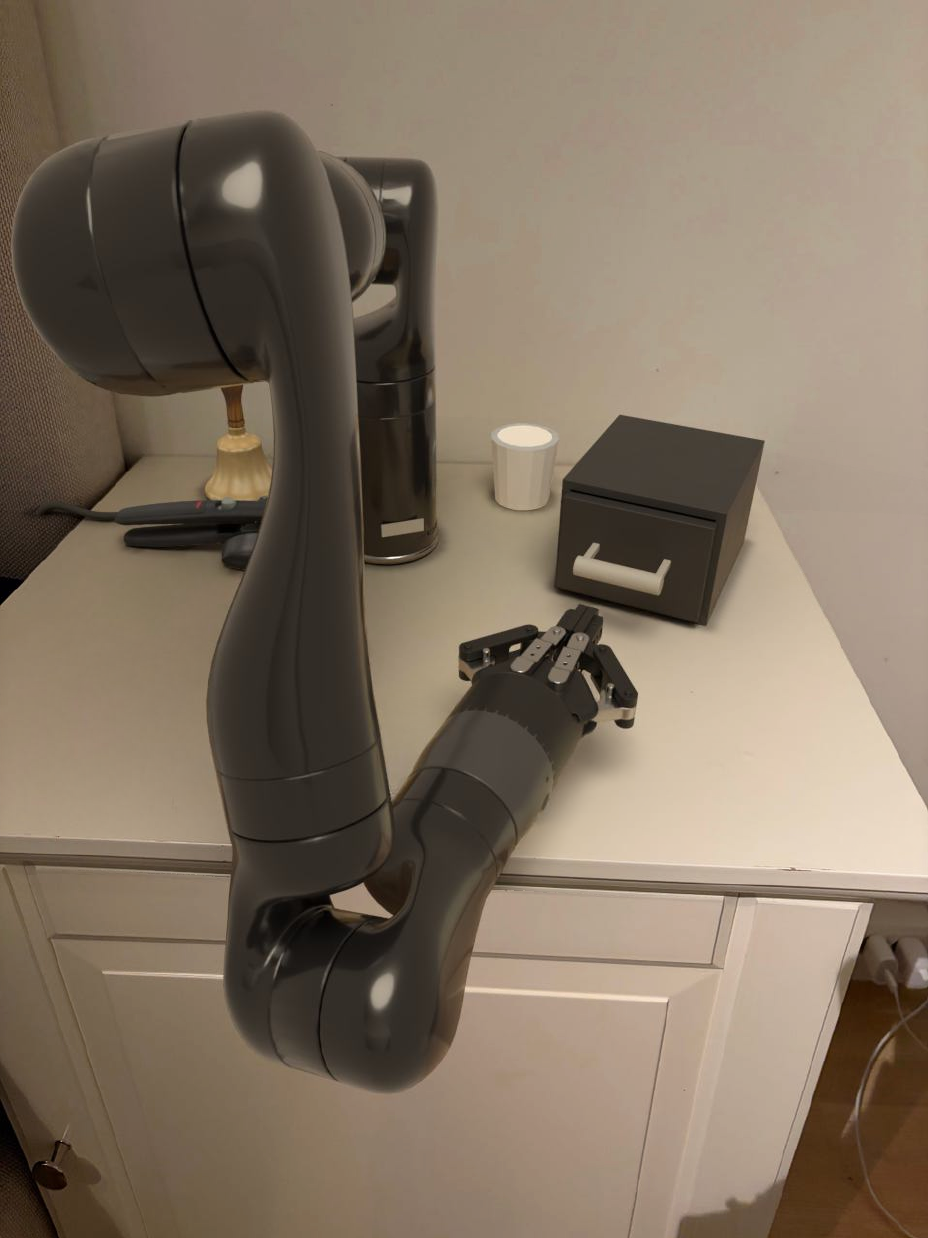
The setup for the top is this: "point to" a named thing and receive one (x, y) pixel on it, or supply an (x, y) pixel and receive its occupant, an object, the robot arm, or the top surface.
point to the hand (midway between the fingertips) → (588, 616)
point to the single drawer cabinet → (675, 483)
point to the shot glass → (523, 464)
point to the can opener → (198, 525)
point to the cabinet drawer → (635, 554)
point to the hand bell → (238, 458)
